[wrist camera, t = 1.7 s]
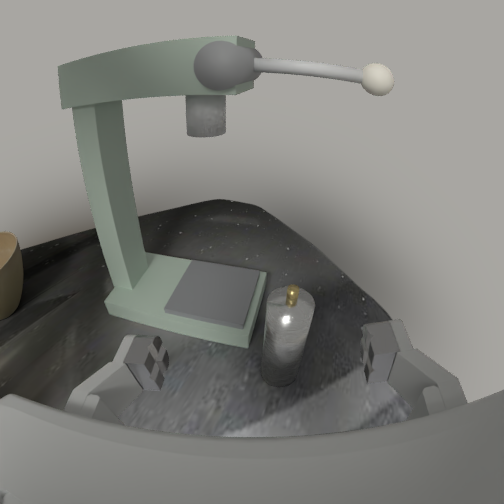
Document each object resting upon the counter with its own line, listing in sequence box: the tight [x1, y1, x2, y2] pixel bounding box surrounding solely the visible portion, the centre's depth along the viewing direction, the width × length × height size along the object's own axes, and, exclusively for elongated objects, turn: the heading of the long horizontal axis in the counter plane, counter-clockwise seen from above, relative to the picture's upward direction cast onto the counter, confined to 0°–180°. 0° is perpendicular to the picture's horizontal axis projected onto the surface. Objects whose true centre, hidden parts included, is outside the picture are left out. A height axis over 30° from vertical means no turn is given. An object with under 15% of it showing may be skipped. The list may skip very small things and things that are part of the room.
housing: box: [261, 284, 315, 387], centre depth 34 cm, size 5×5×16 cm
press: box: [58, 36, 394, 348], centre depth 37 cm, size 38×14×39 cm, turn 78°
